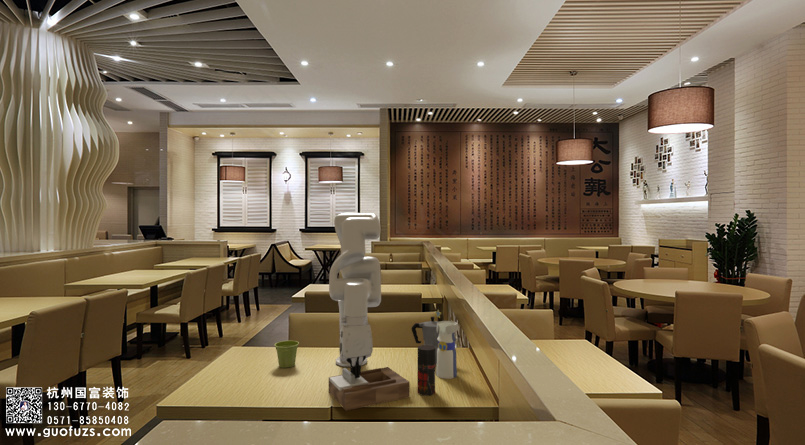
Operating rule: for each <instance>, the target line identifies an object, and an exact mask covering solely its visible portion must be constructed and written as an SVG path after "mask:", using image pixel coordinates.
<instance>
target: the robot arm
mask: <svg viewBox="0 0 805 445" xmlns="http://www.w3.org/2000/svg"><path fill="white" fill-rule="evenodd" d="M333 221H334V229H335V230H334V231H335V234H336V236H337V239H338V241H339V244H340V245H339V246H340V255H338V256H337V258H336V259H335V260H334V262H333V263H332V265H331V267H330V270H329V275H328V276H329V277H328V280H329V281H328V284H329V285H328V292H329V293H328V294H329V296H330V298H331V300H333V301H335V302H338V309H339V312H338V313H339V314H338V315H339V346H338V347H339V351H338V352H339V356H338V357H337V358H336V359H335V364H336V365H338V366H340V367H344V368H346V367H347V368H350V370H349V371H350V372H351V373H352V374H353V375H355V378H360V374H361V371H362V370H361V369H362V366H364V365H366V364H367V362H368V358H370V357H371V356H372V354H373V351H374V350H373V348H374V347H373V336H372V335H373V334H372V329H371V324H370V323H369V322H368V308H374V307H375V308H376V307H378V306H380V304H381V302H382V281H381V280H382V277H381V276H382V275H381V262H380V260H379V259H378V258H377V257H375V256H366V240H368V241H369V240H377V239H379V238H380V235H381V232H382V230H381V228H382V227H381V222H380V220H379V218H378V216H377V214H376V213H373V212H372V213H371V212H344V213H339V214H337V215H336V216H334V220H333ZM339 273H341V277H342V278H338V274H339Z"/></svg>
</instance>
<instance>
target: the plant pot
mask: <svg viewBox="0 0 805 445" xmlns="http://www.w3.org/2000/svg"><path fill="white" fill-rule="evenodd" d="M299 344H300V342H299V341H297V340H282V341H278V342H275V343H274V345H273V346H274V347H275V350H276V354H277V356H276V357H277V361H278V366H279V368H282V369H286V368H292V367H293V368H294V366H295V365H296V359H297V352H298V351H297V350H298V346H299Z"/></svg>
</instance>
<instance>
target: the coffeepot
mask: <svg viewBox="0 0 805 445" xmlns="http://www.w3.org/2000/svg"><path fill="white" fill-rule="evenodd" d="M438 322H439V321H437V320H435V316H430V321H429V320H428V321H423V322H417V323H414V324H413V325H412V326H411V333H412V336H413V338H414V341H415V344H421V343H422V340H423V341H424V343H423V345H432V346H434V347H435V365H437V350H438V340H437V338H438V337H439V328H438V333H437V323H438ZM416 329H421V330H422V338H423V339H422V340H419V337H418V335H417V334H418V333H417V330H416Z"/></svg>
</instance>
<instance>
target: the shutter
mask: <svg viewBox="0 0 805 445" xmlns="http://www.w3.org/2000/svg"><path fill="white" fill-rule="evenodd" d="M341 371H342V374H340V375H341V376H338V375H335V376H336V377H332V376H329V377H330V382H331V383H332V384H333V385H334V386H335V387H336V388H337V389H338V390H339V391H341V390H342V388H347V387H352V386H358V385H363V384H368V382H367V381H366V380H365V379H364V378H362V377H361V376H360V378H355V375H353V374H352V373H351V372H350V370H349V369H347V368H346V367H344V368H342V370H341Z"/></svg>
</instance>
